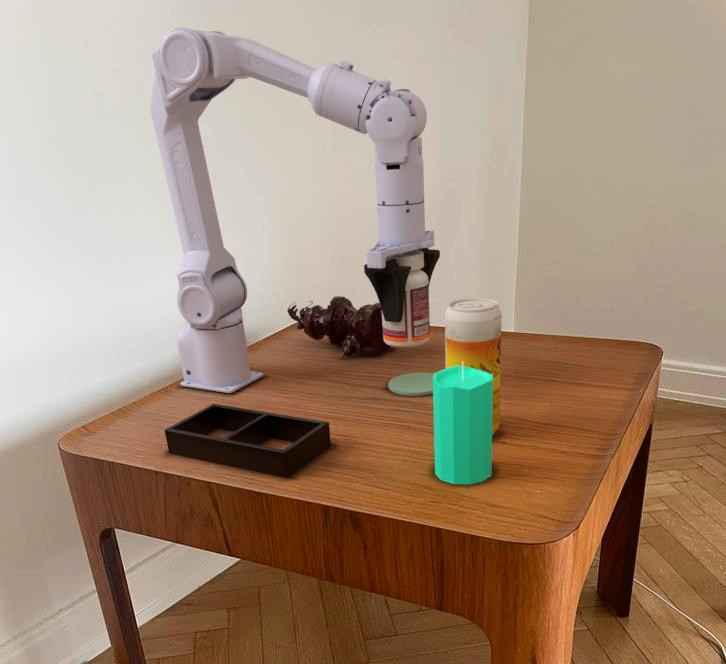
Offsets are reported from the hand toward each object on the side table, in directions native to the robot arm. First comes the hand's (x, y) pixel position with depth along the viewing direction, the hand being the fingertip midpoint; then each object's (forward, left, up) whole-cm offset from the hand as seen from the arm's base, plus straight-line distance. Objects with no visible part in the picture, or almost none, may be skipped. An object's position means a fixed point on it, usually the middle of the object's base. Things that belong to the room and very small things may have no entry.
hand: (405, 314), depth 96 cm
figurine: (-19, +13, -11) cm, 25 cm away
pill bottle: (0, 0, -4) cm, 4 cm away
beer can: (+13, -10, -11) cm, 20 cm away
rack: (-9, -24, -10) cm, 27 cm away
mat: (0, +2, -10) cm, 11 cm away
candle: (+16, -20, -11) cm, 28 cm away
